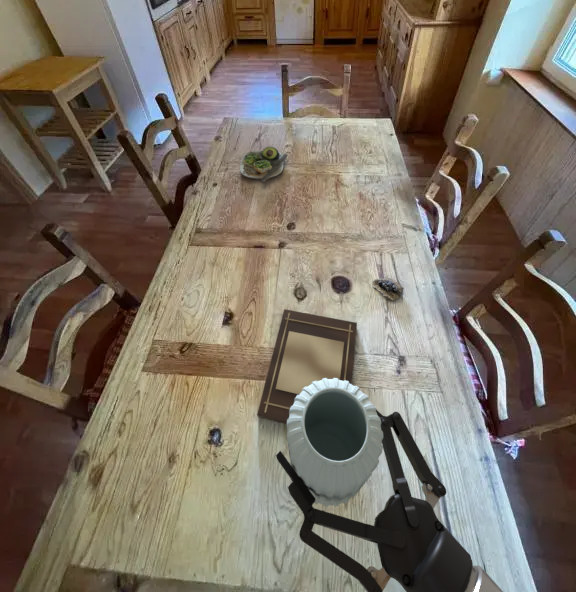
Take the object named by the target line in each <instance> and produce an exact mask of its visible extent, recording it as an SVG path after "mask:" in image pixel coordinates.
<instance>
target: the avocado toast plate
mask: <svg viewBox="0 0 576 592" xmlns="http://www.w3.org/2000/svg"><path fill="white" fill-rule="evenodd" d="M287 156H288V154H287V153H284V154H283V153H281V151H279V150H278V149H277V148H276V147H274V146H266V147H264V148H263V150H251V151H247V152H245V153H244V154H243V155H242V156H241V158H240V159H241V160H240V166H239V172H240V174H241V175H242V176H243V177H245V178H247V179H251V180H260V181H261V182H262V183H265V182H267V180H269V179H270V178H274V177H276V176H279V175H280V174H281V173H282V172H283V170H284V161H285V160H286V158H287Z"/></svg>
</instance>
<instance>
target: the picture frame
mask: <svg viewBox="0 0 576 592" xmlns="http://www.w3.org/2000/svg"><path fill="white" fill-rule="evenodd" d="M357 326H358V322H355V321H350V320H344V319H338V318H335V317H330V316H329V317H328V316H323V315H319V314H313V313H307V312H302V311H297V310H292V309H286V308H284V309H283V314H282V317H281V321H280V324H279V328H278V333H277V336H276V340H275V344H274V348H273V352H272V355H271V359H270V363H269V367H268V371H267V375H266V378H265V382H264V386H263V391H262V395H261V398H260V402H259V406H258V409H257V413H256V417H257V418H260V419H263V420H268V421H271V422H275V423H278V424H279V423H280V424H283V425H287V419H289V410H290V408H291V406H293V404H294V402H295V400H294V399H295V398H296V396H297V395H299V394H300V393H301V392H302V389H303V388H304V387H305V386H307V387H308V386H309V385H311V383H312V382H314V381H320V380H322V378H327V379H333V378H338V380H342V381H345V380H346V381H349V383H350V384H352V382H353V374H354V373H353V370H354V361H355V360H354V359H355V349H356V338H357V328H358V327H357ZM352 385H353V384H352Z"/></svg>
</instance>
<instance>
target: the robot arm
mask: <svg viewBox="0 0 576 592" xmlns="http://www.w3.org/2000/svg"><path fill="white" fill-rule="evenodd" d="M376 413H377V415H378V417H380V420H381V430H382V431H383V439H382V446H383V449H382V450H383V453H384V457H385V461H386V464H387V468H388V472H389V475H390V479H391V484H392V491H393V493H394V494H392V495H391V496H390V497H389V498H388V499H387V501H386V502H385V505H384V508H383V510H381V511H380V512H378V513H377V515H376V517H375V518H374V522H373V525H372V524H369V523H366V522H365V523H364V522H362V521H358V520H354V519H352V518H347V517H345V516H341V515H338V514H335V513H332V512H328V511H325V510H323V509H322V510H321V509H318V508H315V507H314V506H313V505H314V504H315V503H314V502H315V498H314V496H313V495H312V493H311V492H310V491H309V489H308V488H307V487H306V485H305V484H304V482H303V481H302V480H301V478H300V477H299V476H298V474H297V473H296V471H295V470H294V469H293V467H292V466H291V462H289V461H288V459H287V458H286V456H285V455H284V453H283V452H282V451H281V450H279V451H278V452H277V454H276V455H275V457H276V461H277V462H278V463H279V465H280V466H281V467H282V468H283V470H284V472H285V473H286V474H287V476H288V477H289V478H290V480H291V481H292V482H291V483H290V484H289V485H288V486H287V489H288V492H289V496H290V497H291V498H292V499H293V501H294V502H295V504H296V505H297V507H298V508H299V509H300V511H301V512H302V514H303V522H302V523H301V527H300V529H299V532H298V535H299V539H300V540H301V542H303V543H304V544H305V545H307V546H309V547H310V548H311V549H312V550H314V551H315V552H317V553H318V554H320V555H321V556H322V557H323V558H326V559H327V560H329V561H330V562H331V563H333V564H334V565H335V566H337V567H338V568H340V569H341V570H343V571H345V572H346V573H347V574H349V575H350V576H352V577H353V578H354V579H355V580H357V581H358V582H359V583H360V585H361V586H362V588H363V589H364V590H365V591H366V592H383V591H384V590H385V588H386V587H387V585H388V583H389V581H390V579H391V578H392V579H393V580H394V581H396V582H397V583H399V585H400V586H401V587H402V588H403V590H404V591H405V592H504V591H503V590H502V588H500V586H499V585H498V584H497V583H496V582H495V581H494V580H493V578H492V577H491V576H490V575H489V574H488V573H487V571H485V569H483V567H482V566H480V565H474V564H473V559H472V556H471V554H470V553H469V552H468V551H467V550H466V548H464V546H463V545H462V544H461V543H460V542H459V541H458V540H457V539H456V537H455V536H454V535H453V534H452V533H451V532H450V530H448V529H447V528H446V527H445V525H444V524H443V523H442V522H441V521H440V520H439V518H438V517H437V515H436V512H435V510H434V509H435V507H436V506H437V504H438V502H439V501H440V499H441V498H442V497H445V496H446V495H447V487H446V486H445V485H444V484H443V483H442V482H441V481H440V479H438V478H437V477H436V475H435V474H434V473H433V472H432V470H431V468H430V467H429V465H428V463H427V461H426V459H425V457H424V455H423V454H422V451H421V450H420V448H419V446H418V445H417V442H416V441H415V439H414V437H413V436H412V434H411V431H410V430H409V427H408V426H407V425H406V423H405V420H404V419H403V417H402V415H401V414H400V412H399V411H394V412H392V413H390V414H388V415H383V414H382V413H381V412H380V411H379V410H378V409H377V408H376ZM393 433H394V434H395V436H396V438H397V440H398V442H399V444H400V446H401V448H402V449H403V452H404V454H405V455H406V457H407V459H408V461H409V463H410V465H411V467H412V469H413V471H414V473H415V475H416V477H417V478H418V480H419V481H420V483H421V492H422V493H423V495H424V499H421V498H417V497H414V496H412V492H411V489H410V486H409V483H408V480H407V479H406V475H405V472H404V469H403V466H402V462H401V458H400V455H399V452H398V447H397V444H396V441H395V437H394V434H393ZM315 525H317V526H320V527H323V528H326V529H330V530H333V531H336V532H339V533H343V534H346V535H349V536H352V537H355V538H359V539H362V540H365V541H367V542H369V543H374V544H376V546H377V550H378V554H379V559H380V564H381V568H380V569H377V568H376V567H374V566H372V565H371V566H368V567H367V568H366V567H365V566H364V565H362V564H361V563H360V562H358V561H357V560H356V559H354V558H353V557H351V556H349V555H348V554H346V552H344V551H342V550H341V549H340V548H338V547H336V546H335V545H333V544H332V543H330V542H329V541H327V540H326V539H324V538H323V537H322V536H320V535H319V534H317V533H315V532H314V531H313V528H314V526H315Z"/></svg>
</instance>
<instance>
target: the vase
mask: <svg viewBox="0 0 576 592" xmlns="http://www.w3.org/2000/svg"><path fill="white" fill-rule="evenodd" d="M294 400H295V402H294V404H293V406H291V408H290V410H289V419H287V424H286V431H287V432H286V441H287V448H288V454H289V461H290V462H289V463H290V465H291V466H292V467H293V469H294V470H295V471H296V473H297V474H298V476H299V477H300V478H301V480H302V481H303V482H304V484H305V485H306V487H307V488H308V489H309V491H310V492H311V493H312V495H313V496H314V498H315V502H314V503H313V504H317V505H318V504H321V505H323V507H326V508H328V507H329V506H333V507H335V508H336V507H337V508H338V507H339V506H340V505H341V504H347V503H349V501H350V500H351V499H352V498H355V496H357V494H358V493H359V492H360V490H361V489H362V488H363V487H364V485H366V483H367V481H368V480H369V479H370V478H371V476H373V472H374V471H375V470H376V469H377V467H378V465H379V463H380V456H381V455H382V453H383V450H384V449H383V445H382V439H383V431H382V430H381V420H380V417H378V415H377V413H376V409H377V407H376V405H375V404H373V403H372V402H371V400H370V397H369V395H368V394H367V393H364V392H363V391H361V389H360V387H359V386H357V385H353V384H350V383H349V381H346V380H345V381H342V380H338V378H333V379H327V378H322V380H320V381H314V382H312V383H311V385H309V386H308V387H307V386H305V387H304V388H303V389H302V392H301V393H300V394H299V395H297V396H296V398H295V399H294Z"/></svg>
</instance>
